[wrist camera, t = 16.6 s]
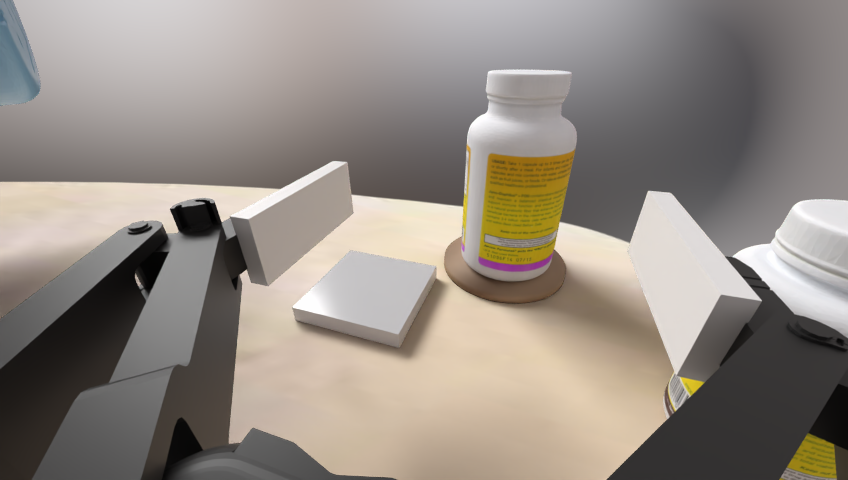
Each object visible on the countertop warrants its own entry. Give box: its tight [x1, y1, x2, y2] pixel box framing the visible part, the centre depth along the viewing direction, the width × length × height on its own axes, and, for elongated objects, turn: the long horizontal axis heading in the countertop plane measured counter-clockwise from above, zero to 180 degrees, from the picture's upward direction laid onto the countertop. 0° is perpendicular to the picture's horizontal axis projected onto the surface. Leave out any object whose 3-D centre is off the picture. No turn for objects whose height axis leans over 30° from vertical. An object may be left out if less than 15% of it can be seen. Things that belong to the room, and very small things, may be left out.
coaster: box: [444, 237, 566, 303], centre depth 26 cm, size 9×9×1 cm
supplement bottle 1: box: [461, 70, 577, 282], centre depth 23 cm, size 7×7×13 cm
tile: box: [292, 250, 436, 348], centre depth 23 cm, size 2×7×7 cm
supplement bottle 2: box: [663, 199, 848, 480], centre depth 12 cm, size 6×6×10 cm
